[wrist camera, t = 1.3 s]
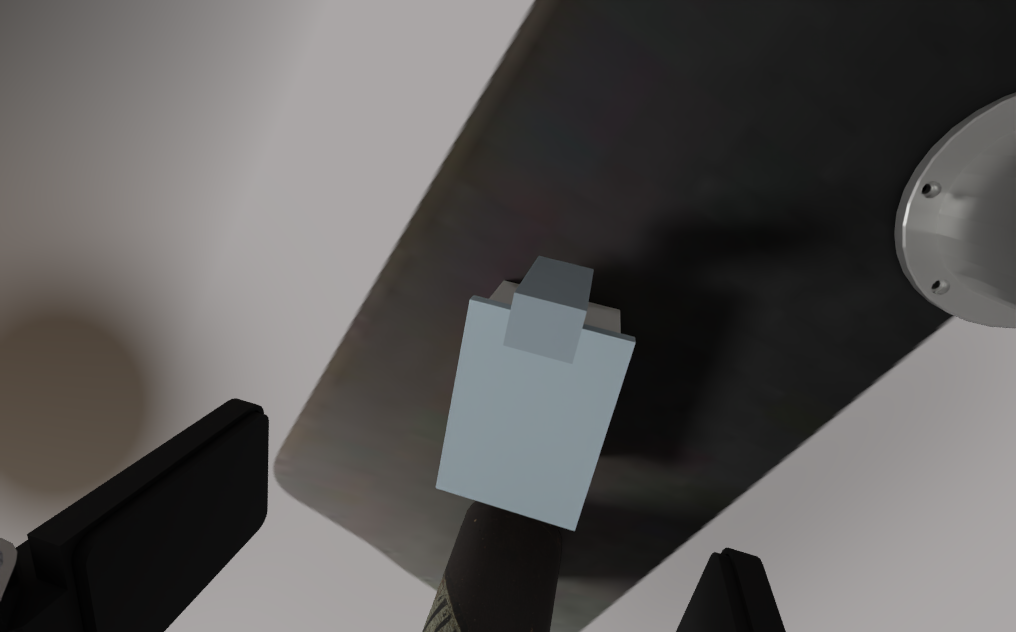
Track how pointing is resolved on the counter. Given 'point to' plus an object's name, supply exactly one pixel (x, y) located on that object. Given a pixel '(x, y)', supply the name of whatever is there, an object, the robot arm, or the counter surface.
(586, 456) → the lid
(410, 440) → the counter surface
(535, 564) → the container
